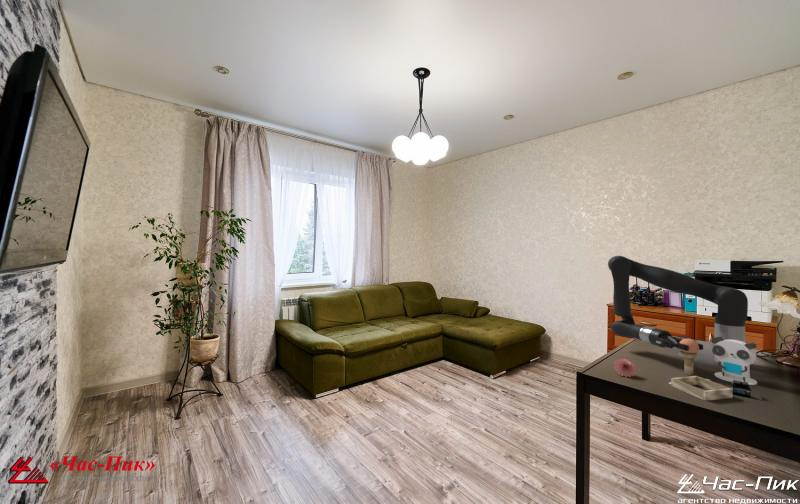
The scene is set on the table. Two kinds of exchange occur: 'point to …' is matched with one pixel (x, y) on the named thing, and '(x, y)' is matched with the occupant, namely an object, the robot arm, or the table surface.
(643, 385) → the table surface
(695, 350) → the ball
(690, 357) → the tee
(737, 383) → the black slotted stand
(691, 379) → the corral
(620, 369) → the flower
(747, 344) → the panda figurine
